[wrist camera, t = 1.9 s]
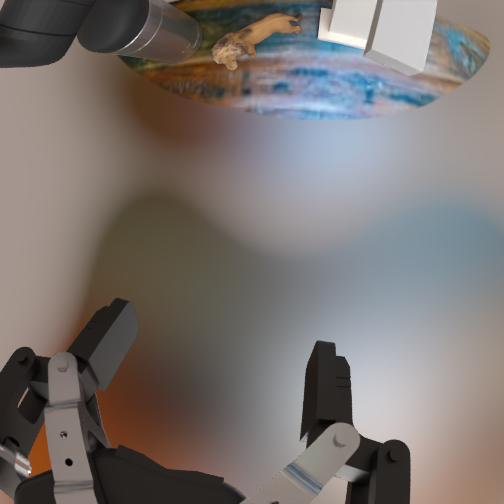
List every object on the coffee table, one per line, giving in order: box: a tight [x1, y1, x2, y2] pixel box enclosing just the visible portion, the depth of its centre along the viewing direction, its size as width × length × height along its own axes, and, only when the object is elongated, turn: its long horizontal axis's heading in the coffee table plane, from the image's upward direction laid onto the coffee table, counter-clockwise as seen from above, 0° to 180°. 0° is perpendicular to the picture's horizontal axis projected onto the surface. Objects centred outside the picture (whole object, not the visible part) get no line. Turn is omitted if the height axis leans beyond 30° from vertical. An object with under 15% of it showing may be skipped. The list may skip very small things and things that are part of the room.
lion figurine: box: [212, 13, 302, 70], centre depth 31 cm, size 15×5×9 cm, turn 130°
